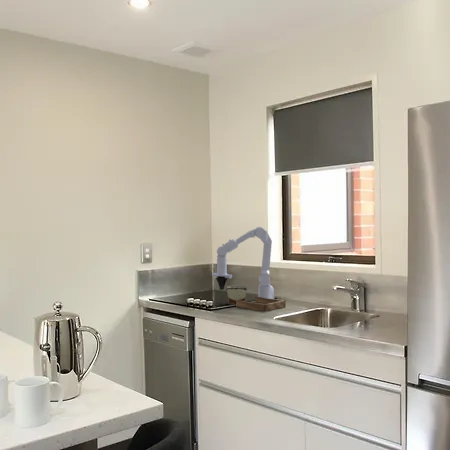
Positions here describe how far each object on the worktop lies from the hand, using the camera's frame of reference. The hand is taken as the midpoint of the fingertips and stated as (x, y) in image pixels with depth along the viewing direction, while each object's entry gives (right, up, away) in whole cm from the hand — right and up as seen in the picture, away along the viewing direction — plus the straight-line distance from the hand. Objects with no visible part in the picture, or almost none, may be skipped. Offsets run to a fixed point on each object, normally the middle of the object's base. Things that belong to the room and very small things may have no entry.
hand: (221, 289), depth 311 cm
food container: (+9, -7, -8) cm, 14 cm away
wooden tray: (+22, -7, -19) cm, 30 cm away
